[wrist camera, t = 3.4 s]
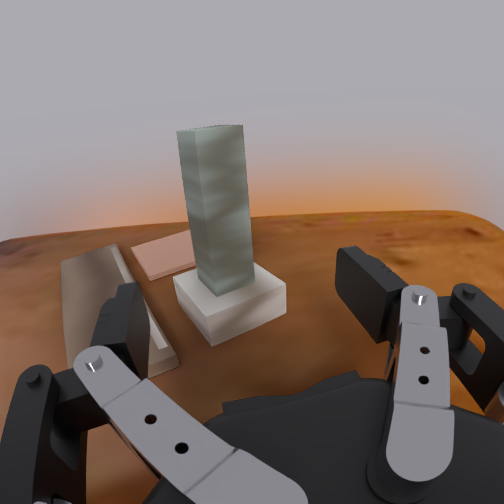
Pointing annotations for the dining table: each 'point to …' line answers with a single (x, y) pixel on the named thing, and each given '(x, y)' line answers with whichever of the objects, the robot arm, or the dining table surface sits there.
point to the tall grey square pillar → (222, 239)
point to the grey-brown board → (94, 296)
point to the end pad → (165, 255)
